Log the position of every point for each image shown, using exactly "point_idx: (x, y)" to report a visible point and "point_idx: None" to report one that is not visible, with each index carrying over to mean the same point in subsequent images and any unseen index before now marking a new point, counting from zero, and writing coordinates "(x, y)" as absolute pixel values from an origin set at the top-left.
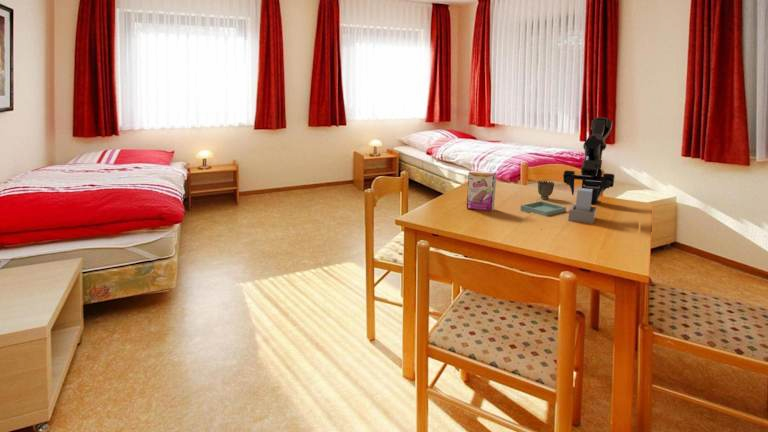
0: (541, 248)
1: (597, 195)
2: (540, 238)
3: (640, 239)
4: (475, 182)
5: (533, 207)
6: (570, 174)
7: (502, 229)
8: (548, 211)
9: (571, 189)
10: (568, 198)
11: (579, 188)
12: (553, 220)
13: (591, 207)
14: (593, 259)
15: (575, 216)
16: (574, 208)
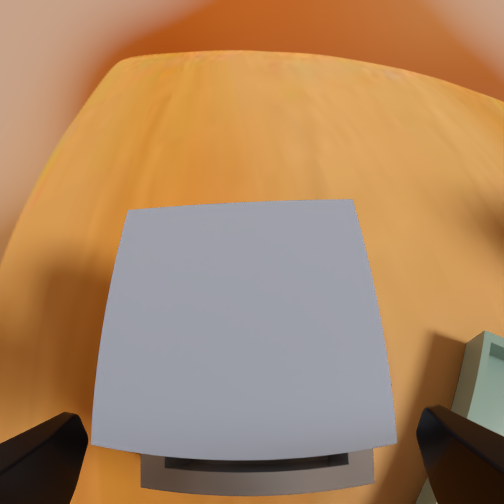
0: (307, 61)
1: (70, 416)
2: (341, 96)
3: (29, 212)
4: None
5: None
6: None
7: (463, 128)
8: (481, 353)
9: (491, 437)
10: None
11: (374, 373)
12: (412, 309)
13: (183, 470)
14: (191, 59)
15: None
16: (340, 461)
